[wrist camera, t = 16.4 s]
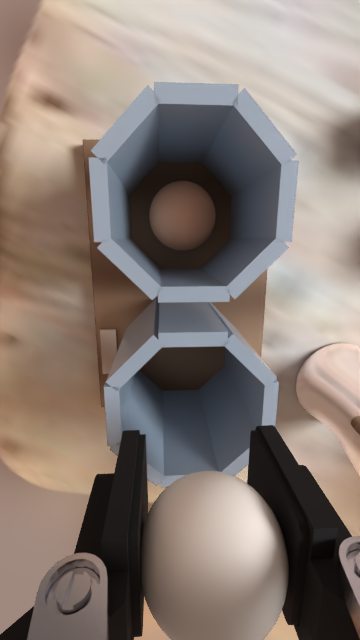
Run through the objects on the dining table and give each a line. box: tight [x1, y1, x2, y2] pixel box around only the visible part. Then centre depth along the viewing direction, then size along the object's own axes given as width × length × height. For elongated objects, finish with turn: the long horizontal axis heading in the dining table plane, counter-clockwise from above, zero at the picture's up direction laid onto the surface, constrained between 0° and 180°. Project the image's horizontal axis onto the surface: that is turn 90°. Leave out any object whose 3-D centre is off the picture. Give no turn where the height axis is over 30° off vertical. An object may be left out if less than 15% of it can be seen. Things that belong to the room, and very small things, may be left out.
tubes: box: [89, 82, 299, 487], centre depth 16 cm, size 16×7×8 cm, turn 0°
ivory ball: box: [141, 471, 289, 640], centre depth 8 cm, size 4×4×4 cm
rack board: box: [83, 140, 267, 407], centre depth 20 cm, size 17×11×1 cm, turn 0°
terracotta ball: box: [149, 181, 216, 251], centre depth 17 cm, size 4×4×4 cm
